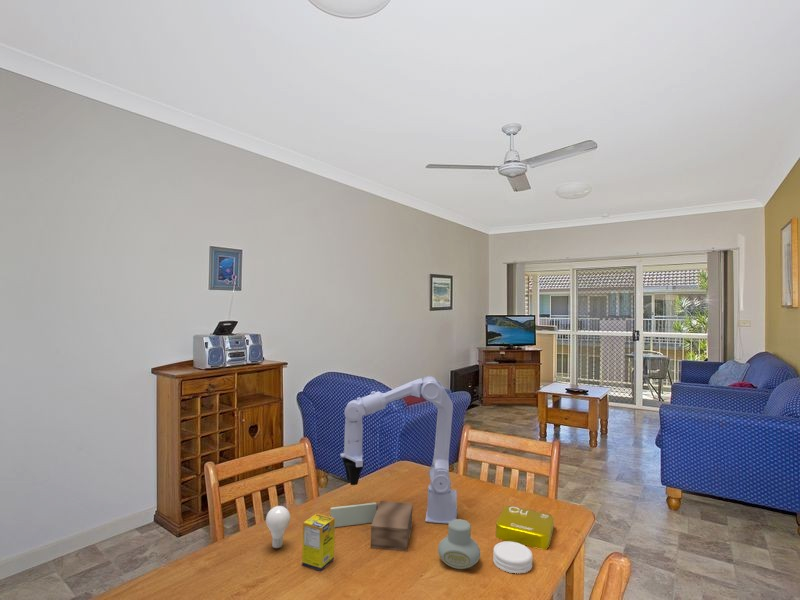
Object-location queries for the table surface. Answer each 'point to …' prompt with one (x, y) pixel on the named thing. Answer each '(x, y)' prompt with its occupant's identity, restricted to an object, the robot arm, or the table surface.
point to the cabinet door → (353, 514)
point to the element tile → (525, 527)
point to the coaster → (512, 557)
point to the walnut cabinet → (391, 526)
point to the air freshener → (459, 546)
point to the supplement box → (318, 541)
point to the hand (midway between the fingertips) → (352, 482)
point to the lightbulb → (277, 524)
